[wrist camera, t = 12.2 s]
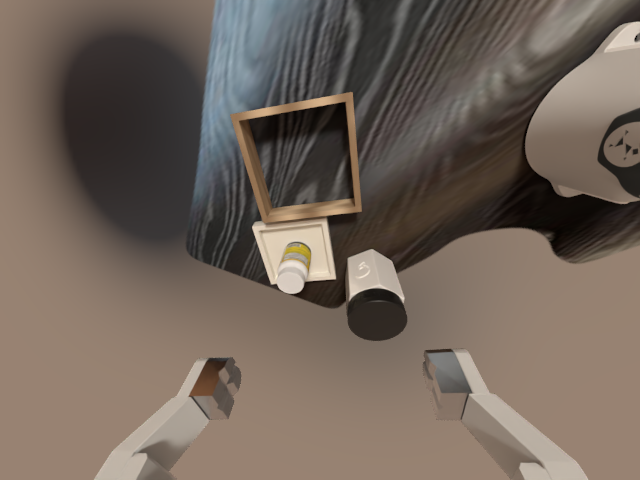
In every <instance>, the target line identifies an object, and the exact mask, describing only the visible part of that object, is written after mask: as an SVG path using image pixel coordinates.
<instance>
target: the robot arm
mask: <svg viewBox="0 0 640 480" xmlns="http://www.w3.org/2000/svg"><path fill="white" fill-rule="evenodd" d="M636 35H637V39H636V40H635V41H634V39H635V37H636ZM525 151H526V157H527V160H528V162H529V164H530V166H531V167H532V169H533V170H534V171H535V172H536V173H537V174H539V175H541V176H542V177H544V178H546V179H547V180H549V181H550V182H551V184H552V186H553V188H554V190H555V192H556V193H557V194H558V195H560V196H564V197H572V196H576V195H580V194H583V193H584V194H587V195H590V196H594V197H597V198H600V199H604V200H607V201H611V202H614V203H619V204H627V203H628V202H633V201H638V200H640V22H632V23H626V24H623V25H621V26H619V27H618V28H616V29H615V30H614V31H613V32H612V33H611V34H610V35H609V36H608V37H607V38H606V39H605V40H604V42H603V43H602V44H601V45H600V46H599V48H598V49H597V50H596V51H595V53H594V54H593V55H592V56H591V57H590V58H588V59H587V60H586V61H585V62H584V63H582V64H581V65H579V66H578V67H577V68H575V69H574V70H573V71H571V72H570V73H569V74H567V75H566V76H565V77H564V78H563V79H561V80H560V81H559V82H558V83H557V84H556V85H555V86H554V87H553V88H552V90H551V91H550V92H549V93H548V94H547V95H546V97H545V98H544V99H543V101H542V102H541V104H540V105H539V107H538V108H537V110H536V112H535V113H534V115H533V117H532V120H531V122H530V125H529V127H528V131H527V135H526V141H525ZM424 358H425V361H424V362H423V374H424V379H425V383H426V386H427V388H428V389H429V390H430V391H431V392H432V394H431V402H432V406H433V409H434V412H435V415H436V419H437V420H462V421H461V422H462V423H463V424H464V426H465V427H466V428H467V429H468V430H469V431H470V433H471V434H472V435H473V436H474V437H475V438H476V439H477V441H478V442H479V443H480V444H481V445H482V446H483V448H484V449H485V450H486V451H487V452H488V453H489V454H490V456H491V457H492V458H493V459H494V460H495V461H496V463H498V465H499V466H500V467H501V468H502V469H503V471H504V472H505V473H506V474H507V475H508V476H509V478H510V480H588V478H587V477H586V475H585V474H584V472H583V470H582V469H581V467H580V466H579V465H578V463H577V462H576V461H575V460H573V459H572V458H571V457H570V456H569V455H567V454H566V453H565V452H564V451H563V450H562V449H560V448H559V447H558V446H557V445H556V444H554V443H553V442H552V441H551V440H550V439H548V438H547V437H546V436H545V435H544V434H542V433H541V432H540V431H539V430H537V429H536V428H535V427H534V426H533V425H532V424H530V423H529V422H528V421H527V420H526V419H524V418H523V417H522V416H521V415H520V414H518V413H517V412H516V411H515V410H514V409H512V408H511V407H510V406H509V405H508V404H506V403H505V402H504V401H503V400H502V399H501V398H499V397H498V396H497V395H496V394H492V393H490V392H489V390H488V388H487V386H486V385H485V383H484V381H483V379H482V377H481V375H480V373H479V371H478V369H477V367H476V365H475V363H474V362H473V360H472V358H471V356H470V354H469V352H468V351H467V350H466V349H441V350H425V351H424ZM234 364H235V360H234V359H233V358H232V357H229V358H228V357H227V358H199V359H198V360H197V361H196V362H195V364H194V366H193V368H192V370H191V371H190V373H189V375H188V377H187V378H186V380H185V382H184V384H183V386H182V388H181V389H180V391H179V393H178V395H177V397H173V398H172V399H171V400H169V401H168V402H167V403H166V404H165V405H164V406H163V407H161V408H160V409H159V410H158V411H157V412H156V413H155V414H154V415H152V416H151V417H150V418H149V419H148V420H147V421H146V422H145V423H143V424H142V425H141V426H140V427H139V428H138V429H137V430H136V431H135V432H133V433H132V434H131V435H130V436H129V437H128V438H127V439H125V440H124V441H123V442H122V443H121V444H120V445H119V446H118V447H117V448H115V449H114V450H113V451H112V452H111V454H110V456H109V457H108V459H107V460H106V462H105V463H104V465H103V466H102V468H101V470H100V471H99V473H98V474H97V476H96V477H95V479H94V480H177V478H176V477H175V476H173V475H172V474H171V473H170V472H169V470H170V469H171V468H172V467H173V466H174V464H175V463H176V462H177V461H178V459H179V458H180V457H181V456H182V454H183V453H184V452H185V451H186V450H187V448H188V447H189V446H190V444H191V443H192V442H193V441H194V440H195V438H196V437H197V436H198V435H199V433H200V432H201V431H202V430H203V429H204V427H205V426H206V425H207V424H208V422H209V420H216V419H229V416H230V413H231V410H232V407H233V404H234V398H233V396H234V394H235V393H236V392H237V391H238V390H239V387H240V384H241V371H240V369H239V368H238V367H237V366H235V365H234Z"/></svg>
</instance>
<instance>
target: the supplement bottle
mask: <svg viewBox="0 0 640 480" xmlns="http://www.w3.org/2000/svg"><path fill="white" fill-rule="evenodd" d="M310 260H311V249H310V247H309V246H308V245H307V244H306V243H304V242H301V241H293V242H290V243H289V244H287V246H286V247H285V249H284V252H283V255H282V258H281V261H280V264H279V267H278V271H277V273H278V278H277V285H278V287H279V289H280V290H282V291H283V292H285V293H289V294H295V293H298V292H300V291H301V290H302V289H303V287H304V283H305V281H306V279H307V277H308V272H309V266H310Z"/></svg>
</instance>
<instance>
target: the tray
mask: <svg viewBox="0 0 640 480" xmlns="http://www.w3.org/2000/svg"><path fill="white" fill-rule="evenodd" d="M252 228H253V231H254V234H255V237H256V240H257V243H258V246H259V249H260V252H261V255H262V258H263V261H264V264H265V267H266V270H267V273H268V276H269V279H270V282H271V284H277V278H278V273H277V271H278V267H279V264H280V261H281V258H282V255H283V252H284V249H285V247H286V246H287V244H289V243H290V242H293V241H301V242H304V243H306V244H307V245H308V246H309V247H310V249H311V260H310V266H309V272H308V277H307V279H306V281H318V280H330V279H336V269H335V263H334V256H333V250H332V244H331V237H330V231H329V224H328V218H327V216H320V217H311V218H302V219H294V220H285V221H277V222H268V223H263V221H259V222H255V223H254V225H253V226H252ZM306 281H305V282H306Z"/></svg>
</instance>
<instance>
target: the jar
mask: <svg viewBox="0 0 640 480" xmlns="http://www.w3.org/2000/svg"><path fill="white" fill-rule="evenodd" d="M345 283H346V306H347V317H348V325H349V328H350V329H351V331H352V332H353V333H354V334H355V335H357V336H358V337H360V338H363V339H366V340H372V341H381V340H387V339H390V338H393V337H395V336H397V335H398V334H399V333H401V332H402V331H403V330H404V328H405V326H406V324H407V315H406V311H405V308H404V305H403V303H404V295H403V292H402V289H401V286H400V283H399V280H398V277H397V274H396V271H395V268H394V265H393V262H392V261H391V260H389V259H388V258H386V257H384V256H383V255H381V254H379V253H378V252H376V251H374V250H373V249H370V250H368V251H365V252H362V253H360V254H357V255H355V256H352V257H349V258H348V259H347V268H346V276H345Z"/></svg>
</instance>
